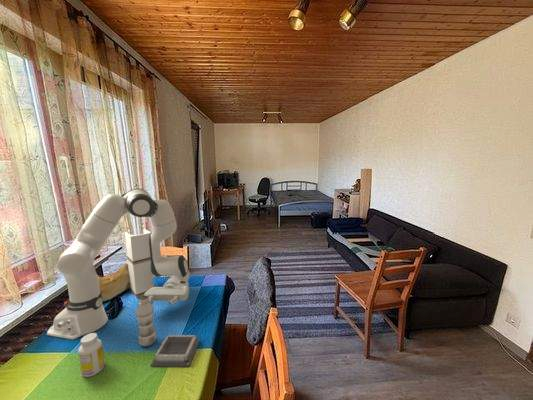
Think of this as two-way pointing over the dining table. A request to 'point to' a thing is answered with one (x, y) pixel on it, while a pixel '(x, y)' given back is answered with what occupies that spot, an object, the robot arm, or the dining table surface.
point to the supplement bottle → (91, 355)
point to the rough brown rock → (114, 283)
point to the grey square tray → (176, 351)
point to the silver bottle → (145, 322)
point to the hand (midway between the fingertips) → (159, 303)
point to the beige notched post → (139, 263)
